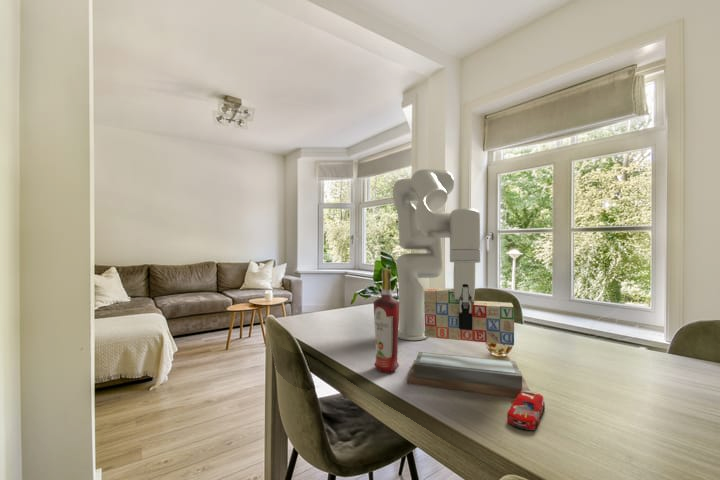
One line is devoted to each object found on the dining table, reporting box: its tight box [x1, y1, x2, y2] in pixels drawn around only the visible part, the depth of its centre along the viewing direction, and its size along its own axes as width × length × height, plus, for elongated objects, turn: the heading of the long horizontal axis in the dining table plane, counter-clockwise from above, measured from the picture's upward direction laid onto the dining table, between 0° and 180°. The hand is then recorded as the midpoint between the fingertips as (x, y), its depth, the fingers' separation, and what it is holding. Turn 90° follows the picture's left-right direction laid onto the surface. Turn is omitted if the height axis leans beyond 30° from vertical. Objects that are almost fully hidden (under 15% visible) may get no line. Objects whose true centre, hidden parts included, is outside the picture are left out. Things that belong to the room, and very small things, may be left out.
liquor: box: [373, 268, 400, 374], centre depth 91 cm, size 7×7×28 cm
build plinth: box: [406, 351, 531, 399], centre depth 83 cm, size 13×28×5 cm, turn 73°
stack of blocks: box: [424, 287, 515, 346], centre depth 83 cm, size 21×6×12 cm, turn 68°
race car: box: [506, 390, 546, 431], centre depth 66 cm, size 13×5×4 cm, turn 140°
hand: (465, 325), depth 83 cm, fingers closed on stack of blocks, 6 cm apart
